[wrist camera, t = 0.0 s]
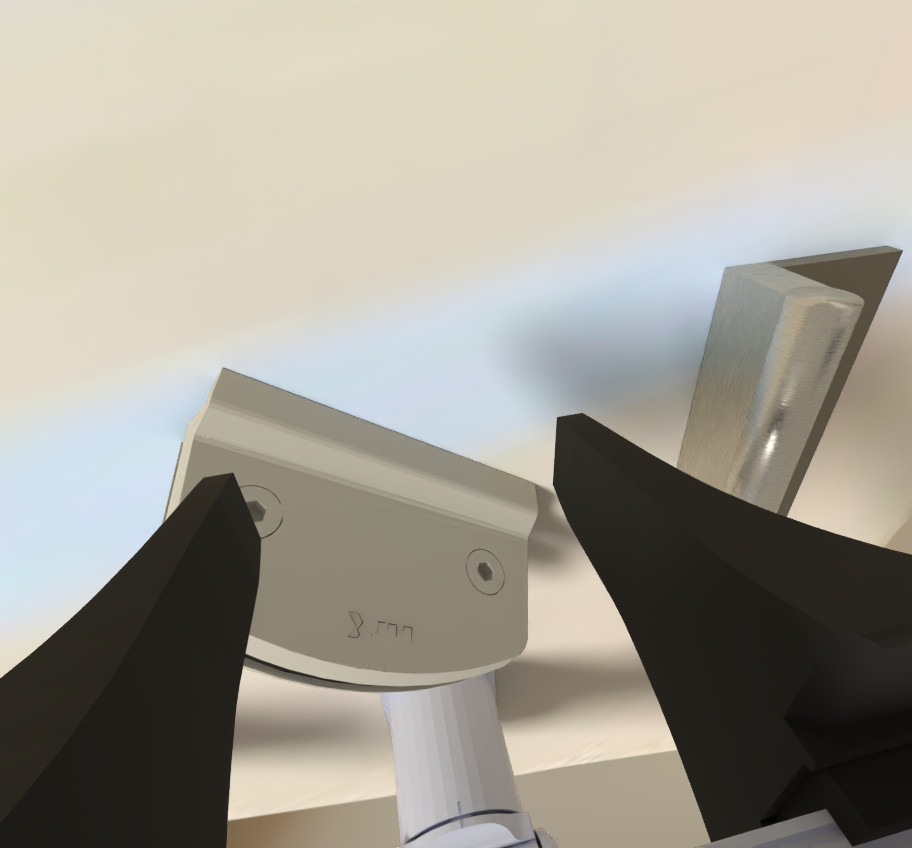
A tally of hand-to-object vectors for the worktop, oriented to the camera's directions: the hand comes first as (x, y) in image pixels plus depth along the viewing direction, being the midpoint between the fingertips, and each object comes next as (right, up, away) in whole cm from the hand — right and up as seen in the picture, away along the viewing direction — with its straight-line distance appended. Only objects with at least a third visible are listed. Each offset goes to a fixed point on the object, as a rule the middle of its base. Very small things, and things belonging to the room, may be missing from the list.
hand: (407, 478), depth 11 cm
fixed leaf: (+17, +1, +16) cm, 23 cm away
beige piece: (-3, -2, +13) cm, 14 cm away
